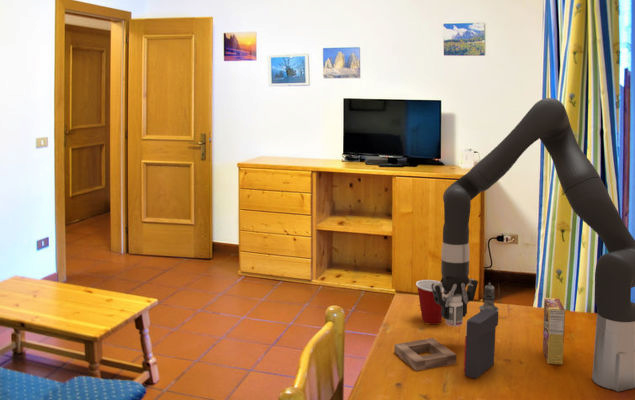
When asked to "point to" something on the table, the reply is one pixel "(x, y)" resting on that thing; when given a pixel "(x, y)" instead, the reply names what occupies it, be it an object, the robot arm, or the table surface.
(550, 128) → the robot arm
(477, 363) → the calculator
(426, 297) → the plastic cup
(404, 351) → the gray square frame
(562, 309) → the candy box
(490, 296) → the rusty flanged peg
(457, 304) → the pill bottle
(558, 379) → the table surface
